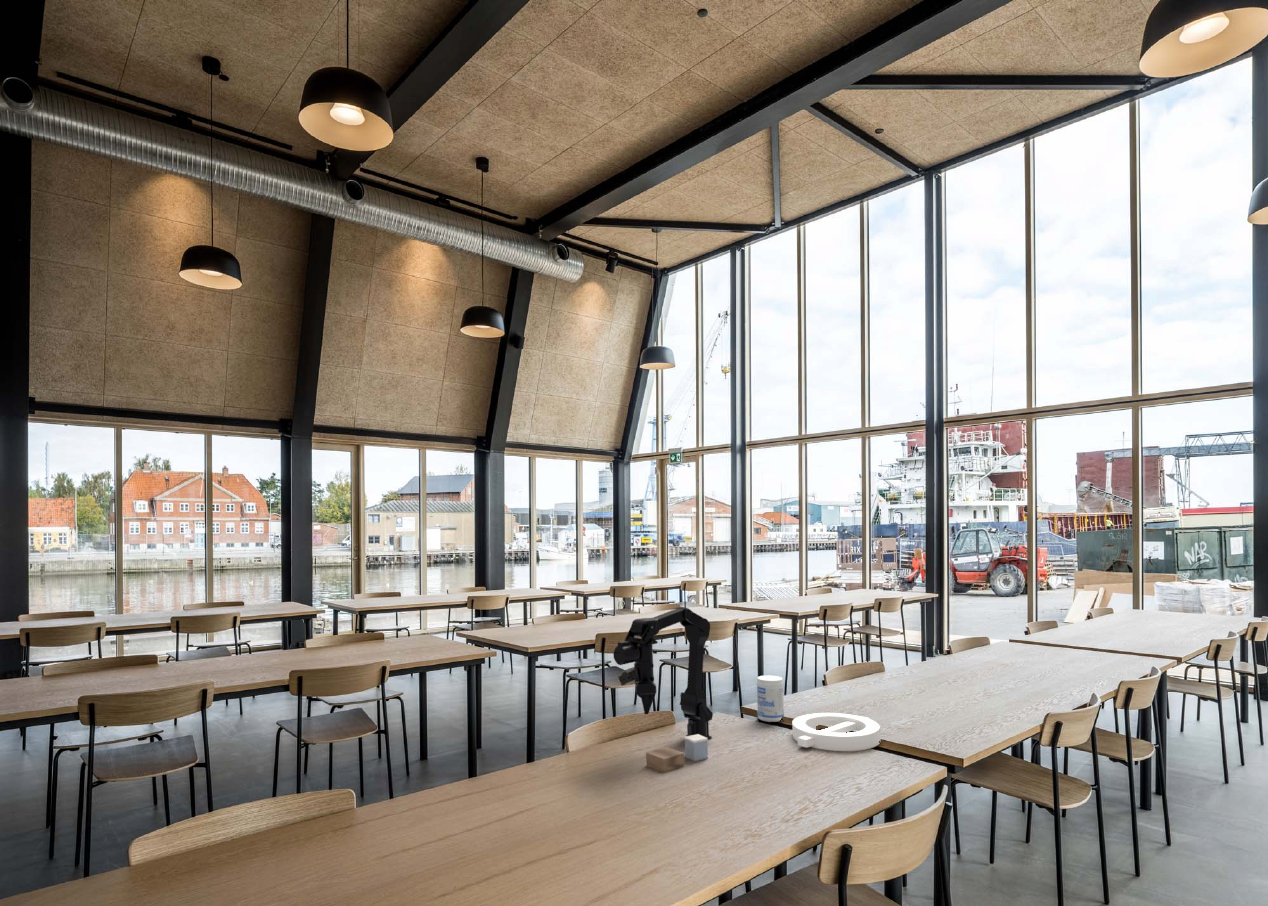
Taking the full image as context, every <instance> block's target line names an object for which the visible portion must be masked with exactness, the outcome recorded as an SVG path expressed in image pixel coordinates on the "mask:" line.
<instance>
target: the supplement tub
mask: <svg viewBox="0 0 1268 906" xmlns="http://www.w3.org/2000/svg"><path fill="white" fill-rule="evenodd" d="M756 679H757V680H756V705H757V712H756V713H757V718H758V719H759V720H760V721H763V722H768V723H771V722H774V723H776V722H777V723H778V722H781V721H782V720H781V718H782V716H784V717H785V707H784V705H785V704H784V702H785V699H784V698H785V697H784V681H783V677H782V676H777V675H768V674H767V675H760V676H757V678H756ZM780 720H781V721H780Z"/></svg>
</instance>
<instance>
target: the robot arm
mask: <svg viewBox="0 0 1268 906" xmlns="http://www.w3.org/2000/svg"><path fill="white" fill-rule="evenodd" d="M678 623H679V624H680V625H681V626H682V627H684V629H685V630H684V631H685V636H686V637H685V638H686V639H687V641H688V645H689V647H688V648H689V649H688V665H687V666H688V667H687V687H686V688H685V690H684V692H683V691H682V692H680V701H679V706H680V708H681V711H682V714H683V717H684V718H685V719H687V725H686V727H687V729H686V730H687V731H686V735H685V737H686V736H691V735H696V734H699V735H701V736H704V737H706V738H708V740H709V739H710V740H711V739H712V735H710V732H709V731H710V729H709V726H710V724H709V722H710V721H712V720H713V716H714V713H713V711H712V710H711V709H710V708H709V707H708V706H707V696H706V695H705V691H704V690H703V671H704V654H705V653H704V652H705V651H704V650H705V644H706V642H707V641H708V639H709V637H710V632H711V623H710V622H709V620H708V619H707V618H704V617H702V616H701V615H699V614H697V613H695V611H692V610H691V609H690V608H689V607H685V606H684V607H682V606H679V607H676V608H675V609H672V610H670V611H666V612H664V613H662V614H659V615H657V616H654V617H642V618H636V619H633V621H632V623H631V626H630V628H629V630H628V632H627V634H626V636H625V638H624V641H618V642H617V646H616V647H615V649H614V650H613V655H612V656H613V660H614V661H615V663H616V664H617V665H619V666H623V665H628V664H632V663H633V667H629V668H628V669H625V670H623V671H621V672H618V673H617V677H618V680H619V683H620V685H621V686H625V685H626V684H627V683H630V682H632V681H634V686H635V693H636V696H638V698H640V700H641V704H642V707H643V712H644V715H649V713H650V710H651V707H652V705H653V702H654V699H655V697H656V695H657V694H656V693H657V684H656V682H654V681H655V676H654V667H655V666H654V657H653V656H654V652H653V650H654V647H653V645H657V644H658V643H659V642H658V641H657V640H656V639H655V638H654V637H655V636H656V635H658V634H659V632H660V631H661V630H663V629H666V628H668V627H671V626H673V625H675V624H678Z"/></svg>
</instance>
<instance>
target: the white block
mask: <svg viewBox="0 0 1268 906" xmlns="http://www.w3.org/2000/svg"><path fill="white" fill-rule="evenodd" d="M683 738H684V758H687V759H689V760H691V761H693V762H698V761H701V760H706V759H709V755H708V754H709V751H708V749H709V747H708V745H709V744H708V740H709V739H708V738H706V737H704V736H701V735H699V734H696V735H691V736H686V735H685V736H684V737H683Z"/></svg>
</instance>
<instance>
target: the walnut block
mask: <svg viewBox="0 0 1268 906" xmlns="http://www.w3.org/2000/svg"><path fill="white" fill-rule="evenodd" d="M645 755H646V756H645V757H646V767H650V768H651V769H655V770H657V771H659V772H662V773H667V772H671V771H673V770H676V769H680V768H682V767H685V752H682V751H680V750H676V749H673V748H671V747H667V746H665V747H662V748H658V749H654V750H651V751H647V752H646V753H645Z"/></svg>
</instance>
